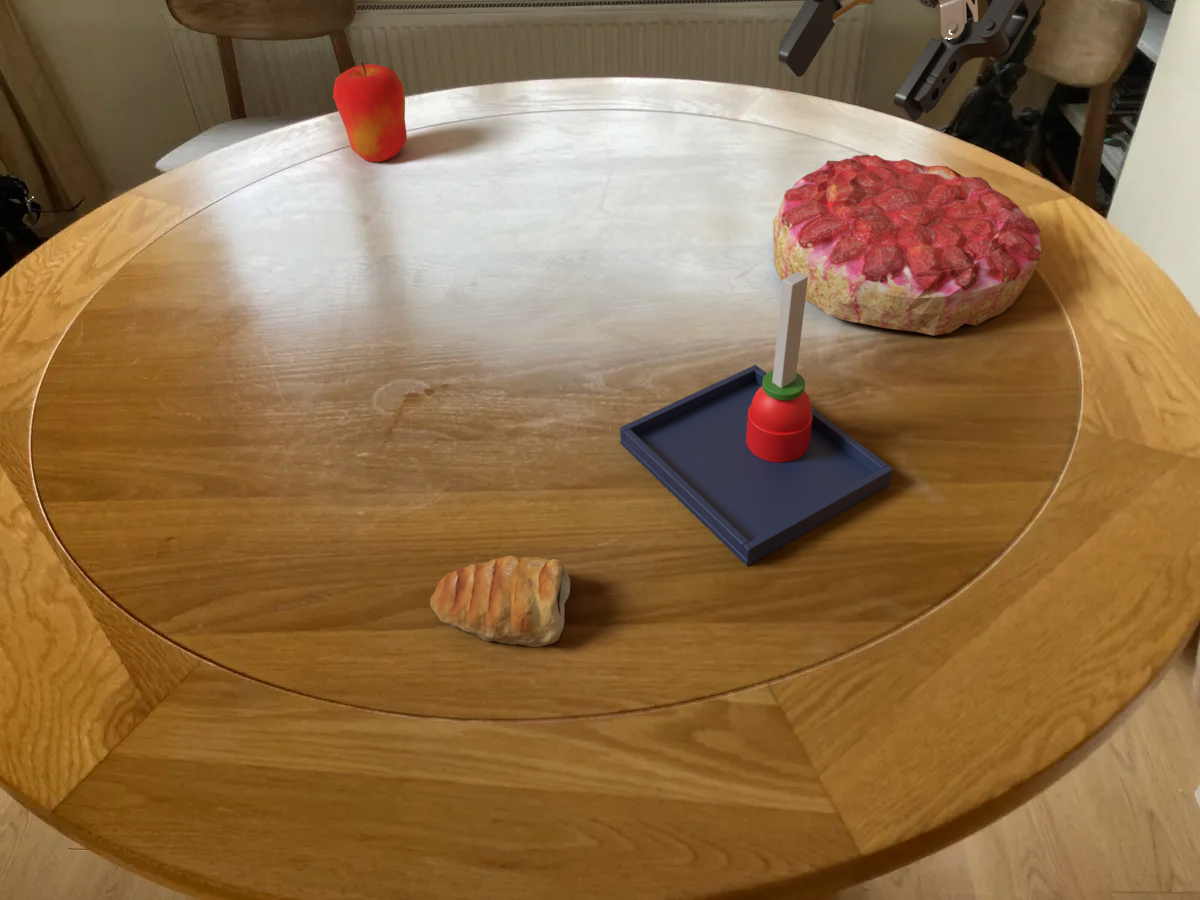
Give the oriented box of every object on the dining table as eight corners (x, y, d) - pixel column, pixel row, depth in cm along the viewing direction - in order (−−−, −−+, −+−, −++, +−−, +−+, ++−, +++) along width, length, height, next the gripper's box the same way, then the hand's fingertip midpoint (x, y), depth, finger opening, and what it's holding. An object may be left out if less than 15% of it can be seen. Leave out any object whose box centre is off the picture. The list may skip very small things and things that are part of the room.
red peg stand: (821, 444, 77) (847, 279, 67) (777, 472, 75) (796, 306, 64) (776, 413, 80) (793, 251, 70) (733, 439, 78) (744, 276, 67)
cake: (727, 223, 102) (736, 154, 97) (931, 189, 108) (951, 122, 102) (838, 367, 86) (856, 294, 80) (1071, 318, 92) (1104, 247, 86)
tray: (890, 485, 74) (893, 468, 73) (746, 566, 69) (748, 550, 67) (754, 380, 84) (755, 364, 83) (620, 443, 79) (619, 427, 78)
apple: (418, 164, 119) (400, 68, 111) (349, 173, 117) (326, 77, 109) (411, 135, 125) (395, 42, 117) (346, 144, 124) (325, 51, 116)
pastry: (426, 648, 64) (416, 612, 62) (444, 571, 69) (436, 535, 67) (564, 652, 64) (561, 616, 61) (573, 574, 69) (569, 538, 66)
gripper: (885, -244, 53) (724, 22, 56) (1128, -220, 44) (924, 93, 47) (928, -149, 59) (780, 88, 62) (1150, -112, 50) (968, 161, 53)
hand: (843, 90), depth 54 cm, fingers open, 8 cm apart
